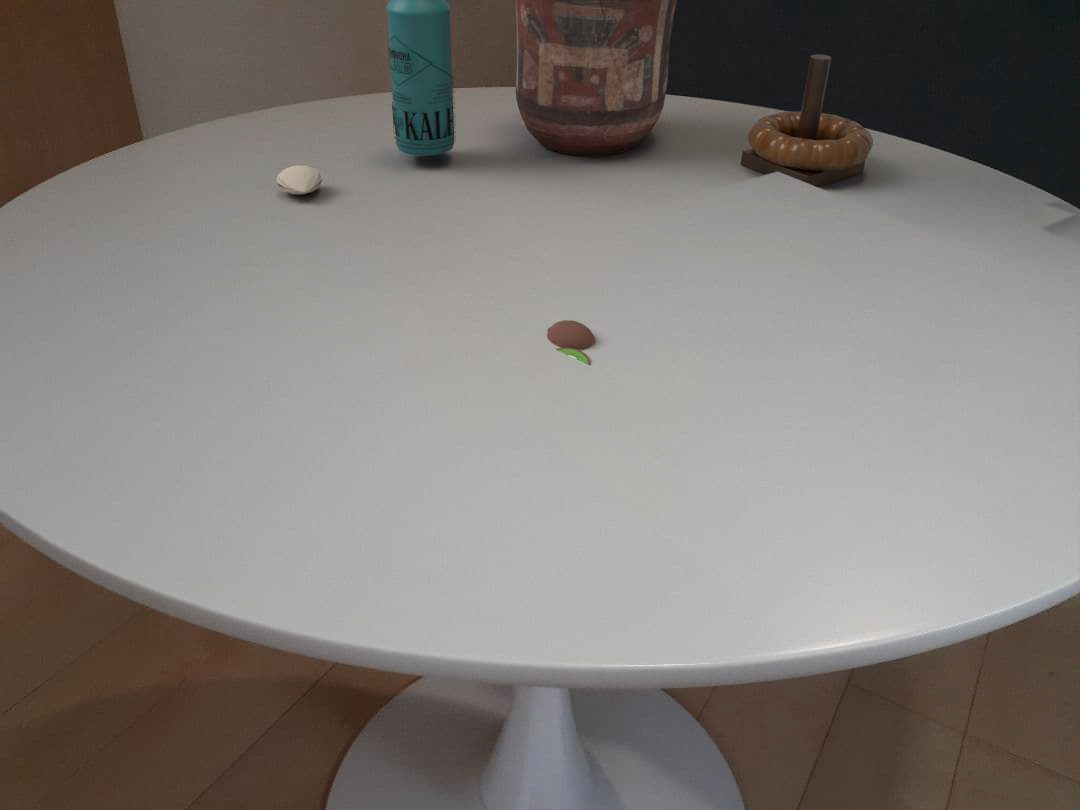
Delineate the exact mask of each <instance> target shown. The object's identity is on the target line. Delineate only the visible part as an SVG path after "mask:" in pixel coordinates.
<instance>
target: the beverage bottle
mask: <svg viewBox="0 0 1080 810" xmlns="http://www.w3.org/2000/svg"><path fill="white" fill-rule="evenodd" d="M450 13H451V6H450V4H449V3H448V2H447V1H446V0H389V2H388V3H387V5H386V14H387V26H388V41H387V43H388V44H389V45H388V46H387V52H388V56H389V58H388V63H389V64H390V65H389V66H388V67H389V68H388V69H389V71H390V72H389V75H390V76H391V77H390V78H391V87H392V88H391V95H392V97H391V99H392V101H391V102H392V103H391V110H392V123H393V124H392V125H393V127H392V128H394V132H393V133H394V135H393V136H394V137H393V139H394V143H395V144H396V146H397V149H398V150H399V152H401V153H404V154H406V155H411V156H418V157H428V156H437V155H442V154H446V153H448V152H450V151H451V150H453V148H454V145H455V142H456V140H457V139H456V138H455V137H456V133H457V132H456V123H455V122H456V119H455V116H456V113H455V112H454V109H456V107H455V105H456V104H455V101H454V99H455V96H454V93H455V90H454V84H455V81H453V80H455V79H454V77H453V72H452V71H453V70H452V69H453V68H452V67H453V66H452V43H451V40H452V39H451V15H450Z"/></svg>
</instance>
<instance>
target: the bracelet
mask: <svg viewBox="0 0 1080 810" xmlns="http://www.w3.org/2000/svg"><path fill="white" fill-rule="evenodd" d="M800 115H801V111H781V112H778V113H774V114H769V115H764V116H763V117H761V118H759V119H758V120H757V122H755V123H754V125H753V126H752V127H751V129H750V130H749V132H748V135H747V140H748V144H749V146H750V147H751V149H753V150H754V151H755V152H756V153H757V154H758V155H759V156H760V157H761V158H763V159H765V160H767V161H770V162H773V163H775V164H778V165H780V166H783V167H788V168H795V169H801V170H807V171H837V170H842V169H846V168H849V167H852V166H856V165H859V164H861V163H862V162H864V161H865V162H866V160H867V159H868V156H869V155H870V152H871V151H872V148H873V145H874V139H873V136H872V134H871V132H869V131H868V130H867V129H866V128H865V127H863V126H862V125H861V124H860V123H858V122H857V121H855V120H851V119H849V118H846V117H842V116H839V115H836V114H830V113H823V112H821V116H820V122H819V127H818V133H817V138H816V140H811V139H804V138H797V133H798V127H799V121H800Z"/></svg>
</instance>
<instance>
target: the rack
mask: <svg viewBox="0 0 1080 810" xmlns="http://www.w3.org/2000/svg"><path fill="white" fill-rule="evenodd" d="M831 60H832V57H831V56H830V55H827V54H819V53H818V54H811V55H810V57H809V63H808V69H807V74H806V79H805V80H806V81H805V86H804V93H803V98H802V104H801V109H800V112H801V115H800V121H799V127H798V133H797V138H804V139H811V140H816V138H817V133H818V127H819V122H820V116H821V113H822V112H823V111H822V110H823V104H824V100H825V94H826V89H827V83H828V78H829V72H830V67H831V63H832V61H831ZM865 163H866V160H865V161H864V162H862V163H861V164H859V165H856V166H852V167H849V168H846V169H842V170H837V171H807V170H801V169H795V168H788V167H783V166H780V165H778V164H775V163H773V162H770V161H767V160H765V159H763V158H761V157H760V156H759V155H758V154H757V153H756V152H755V151H754V150H753V148H749V149H746V150H742V152H741V159H740V165H741V166H743V167H745V168H748V169H751V170H754V171H755V172H758V173H760V174H763V175H770V174H773V173H777V172H778V173H780V174H783V175H785V176H788V177H789V178H794V179H796V180H798V181H800V182H803V183H805V184H808V185H810V186H813V187H815V188H818V187H822V186H824V185H828V184H831V183H835V182H838V181H841V180H845V179H848V178H851V177H854V176H855V177H856V176H858V175H861V174H863V173H864V169H865V165H866V164H865Z"/></svg>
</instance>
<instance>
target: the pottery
mask: <svg viewBox="0 0 1080 810" xmlns="http://www.w3.org/2000/svg"><path fill="white" fill-rule="evenodd" d="M676 5H677V0H514V8H515V39H516V40H515V41H516V43H515V44H516V45H515V46H516V48H515V49H516V51H515V82H514V83H515V84H514V85H515V86H514V87H515V100H516V104H517V108H518V111H519V114H520V116H521V119H522V121H523V122H524V125H525V127H526V130H527V131H528V132H529V134H531V136H532V137H533V138H534V139H535V140H536V141H537V142H538V143H539V142H540V143H541V144H540V143H539V144H540V145H541V146H543V145H544V146H545V147H544V146H543V147H544V148H546V147H548V148H550V149H549V150H551V149H552V150H551V151H553V150H554V151H553V152H556V151H559V152H558V153H561V152H563V153H562V154H565V153H566V154H565V155H569V154H571V155H570V156H582V157H598V156H599V157H604V156H605V157H606V156H610V155H616V154H621V153H624V152H626V151H627V152H628V151H629V150H632V149H633V148H635V146H637V145H638V144H639V143H640V142H641V141H642V140H644V139H645V137H647V136H648V135H649V134H650V133H652V131H653V129H654V127H655V126H656V124H657V122H658V121H659V119H660V117H661V115H662V112H663V109H664V105H665V100H666V93H667V88H668V78H669V77H668V76H669V75H668V74H669V58H670V45H671V44H670V43H671V38H672V30H673V23H674V16H675V10H676ZM548 148H547V149H548Z"/></svg>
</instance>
